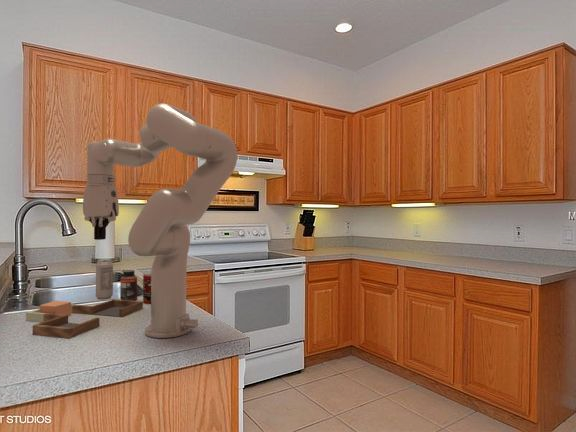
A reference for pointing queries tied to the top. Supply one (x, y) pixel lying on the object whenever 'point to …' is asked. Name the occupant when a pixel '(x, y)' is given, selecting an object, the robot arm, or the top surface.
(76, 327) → the box
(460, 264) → the top surface
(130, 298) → the supplement bottle
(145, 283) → the canned food
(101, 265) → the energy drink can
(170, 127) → the robot arm
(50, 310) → the block
